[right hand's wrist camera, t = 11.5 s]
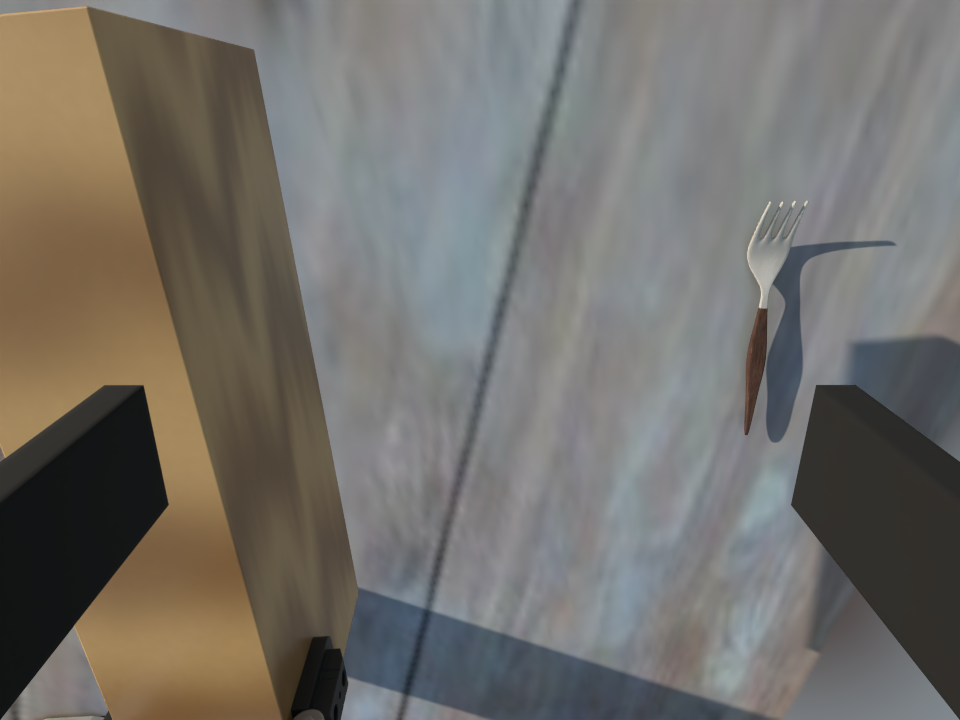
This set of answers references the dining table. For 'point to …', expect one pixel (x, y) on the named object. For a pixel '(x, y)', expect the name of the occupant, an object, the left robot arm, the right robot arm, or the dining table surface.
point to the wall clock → (78, 718)
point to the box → (172, 352)
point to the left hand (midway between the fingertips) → (249, 658)
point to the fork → (764, 296)
